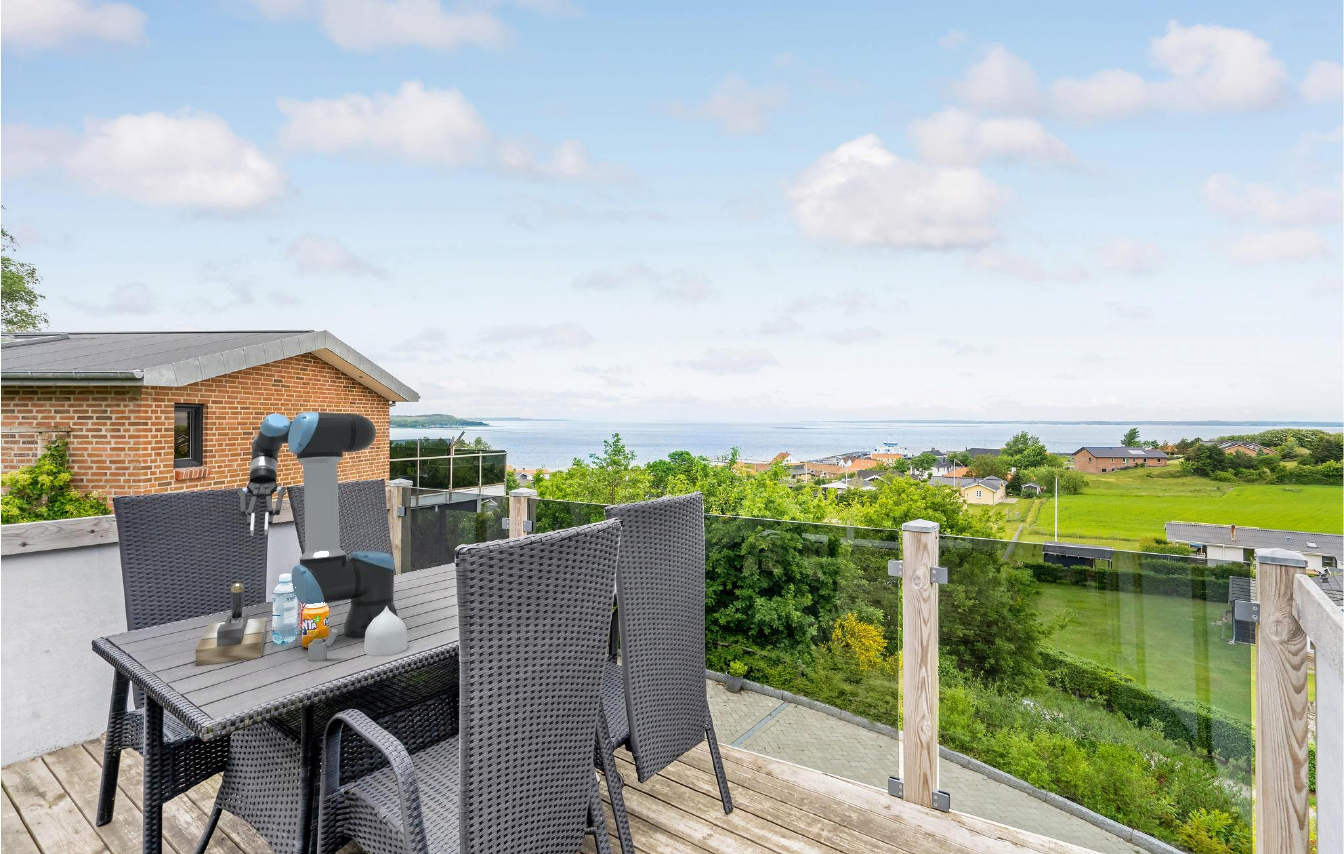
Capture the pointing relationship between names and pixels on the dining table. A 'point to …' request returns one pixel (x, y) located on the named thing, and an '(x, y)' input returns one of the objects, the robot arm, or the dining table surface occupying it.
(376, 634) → the teardrop
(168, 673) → the dining table surface
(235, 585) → the bolt
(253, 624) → the door and jamb
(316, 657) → the lighter
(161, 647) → the dining table surface
